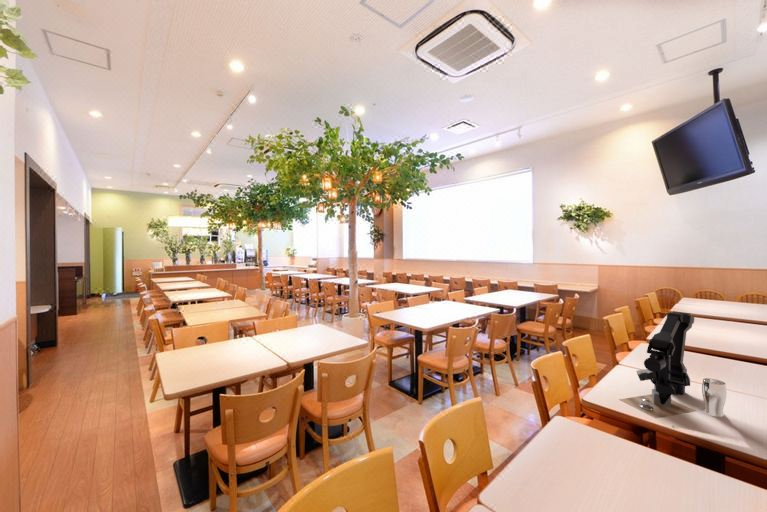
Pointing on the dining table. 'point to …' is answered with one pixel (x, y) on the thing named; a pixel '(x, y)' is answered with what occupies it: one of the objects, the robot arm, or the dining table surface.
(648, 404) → the silver rounded piece
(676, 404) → the board
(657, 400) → the grey block
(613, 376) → the dining table surface
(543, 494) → the dining table surface
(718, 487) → the dining table surface
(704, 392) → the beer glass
